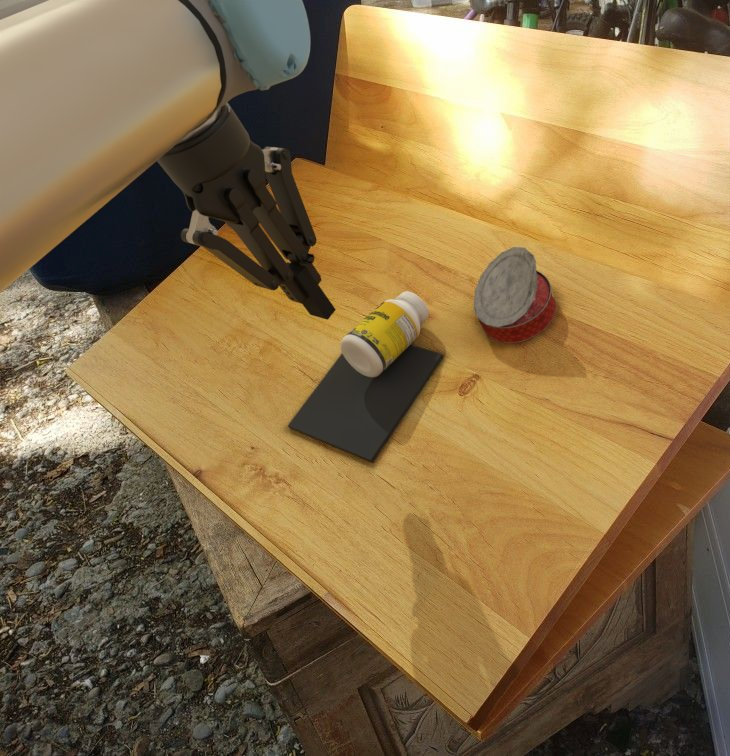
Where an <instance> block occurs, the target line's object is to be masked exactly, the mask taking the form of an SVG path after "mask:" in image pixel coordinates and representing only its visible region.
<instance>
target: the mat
mask: <svg viewBox="0 0 730 756" xmlns="http://www.w3.org/2000/svg"><path fill="white" fill-rule="evenodd" d="M443 359H444V355H443V353H440V352H437V351H434V350H430V349H426V348H423V347H419V346H416V345H413V344H410V345H409V346H408V347H407V348H406V349H405V350H404V351H403V352H402V353H401V354H400V355H399V356H398V357H397V358H396V359H395V360H394V361H393V362H392V363H391V364H390V365H389V366H388V367H387V368H386V369H385V370H384V371H383V372H382V373H381V374H380V375H378V376H377V377H367V376H364V375H362V374H361V373H359V372H358V371H357V370H356V369H354V368H353V367H352V366H351V365H350V364H349V362H348V361H347V360H346V359H345V357H344V355H343V354H342V353H340V355H339V356H338V358H337V359H336V361H335V362H334V363H333V365H332V366H331V368H329V370H328V371H327V373H326V374H325V375H324V376H323V378H322V379H321V380H320V382H319V384H317V386H316V387H315V388H314V389H313V392H312V393H311V394H310V395H309V397H307V399H306V401H304V403H303V404H302V406H301V407H300V409H299V410H298V411H297V413H296V414H295V415H294V416H293V418H292V419H291V420H290V421H289V423H288V424H287V427H288V428H289V429H290V430H292V431H296V432H298V433H299V434H302V435H305V436H308V437H310V438H312V439H315V440H317V441H319V442H322V443H324V444H326V445H329V446H331V447H333V448H336V449H338V450H341V451H343V452H344V453H345V452H346V453H348V454H351V455H353V456H354V457H358V458H360V459H362V460H364V461H367V462H369V463H374V462H375V460H376V458H377V457H378V455H379V454H380V452H382V450H383V448H384V447H385V445H386V443H387V442H388V441H389V439H390V438H391V436H392V434H393V433H394V431H395V430H396V429H397V427H398V426H399V424H400V423H401V421H402V419H403V418H404V417H405V415H406V414H407V412H408V411H409V409H410V408H411V406H412V405H413V403H414V402H415V400H416V399H417V397H418V396H419V394H420V393H421V391H422V390H423V388H424V387H425V386H426V384H427V382H428V381H429V380H430V378H431V376H432V375H433V374H434V372H435V371H436V369H437V367H438V366H439V364H440V363H441V361H442V360H443Z"/></svg>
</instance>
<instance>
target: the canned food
mask: <svg viewBox="0 0 730 756" xmlns="http://www.w3.org/2000/svg"><path fill="white" fill-rule="evenodd" d="M473 311H474V314H475V316H476V317H477V320H478V322H479V324H480V326H481V329H482V331H483V332H484V334H485V335H486V336H487V337H489V338H490V339H491V340H493V341H496V342H498V343H503V344H517V343H522V342H526V341H528V340H531V339H533V338H535V337H537V336H538V335H540V334H542V333H543V332H544V331H545V330H546V329H547V328H548V327H549V326H550V325H551V323H552V321H553V320H554V318H555V315H556V312H557V301H556V297H555V296H554V292H553V290H552V285H551V283H550V280H549V278H548V277H547V276H546V275H545V274H543V272H541V271H538V270H537V260H536V258H535V256H534V254H533V253H531V252H530V251H529V249H527V248H526V247H520V246H512V247H511V248H509V249H506V250H504V251H502V252H500V253H499V254H498V255H497V256H496V257H495V258H494V259H493V260H491V261H490V262H489V263H488V265H487V266H486V268H485V269H484V271H482V273H481V274H480V276H479V279H478V282H477V284H476V287H475V290H474V300H473Z"/></svg>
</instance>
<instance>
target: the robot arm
mask: <svg viewBox="0 0 730 756" xmlns="http://www.w3.org/2000/svg"><path fill="white" fill-rule="evenodd" d="M310 52H311V30H310V24H309V18H308V14H307V10H306V8H305V4H304V1H303V0H0V294H1V293H2V292H3V291H5V290H6V289H7V288H8V287H10V286H11V285H12V284H13V283H14V282H16V281H17V280H19V278H20V277H22V275H24V274H26V272H27V271H28V270H29V269H31V268H32V267H33V266H34V265H36V264H37V263H38V262H39V261H40V260H42V259H43V258H44V257H45V256H46V255H47V254H49V253H50V252H51V251H52V250H53V249H55V248H56V247H57V246H58V245H59V244H60V243H62V242H63V241H64V240H65V239H66V238H68V237H69V236H71V234H73V232H74V231H76V230H77V229H78V228H79V227H80V226H81V225H83V224H85V222H86V221H87V220H89V219H90V218H91V217H93V216H94V215H95V214H96V213H98V211H99V210H101V209H102V208H103V207H104V206H105V205H106V204H108V203H109V202H110V201H111V200H112V199H114V198H115V197H116V196H117V195H118V194H120V193H121V192H122V191H123V190H125V188H127V187H128V186H129V185H130V184H131V183H132V182H134V181H135V180H136V179H137V178H138V177H140V176H141V175H142V174H143V173H144V172H146V170H148V169H149V168H150V167H151V166H153V165H154V164H155V163H156V162H157V163H158V164H159V166H160V167H161V168H162V170H163V171H164V172H165V173H166V174H167V175H168V177H169V178H170V180H172V182H173V183H174V184H175V185H176V186H177V187H178V188H179V190H181V192H182V193H183V196H184V198H185V203H186V206H187V208H188V209H189V210H190V211H191V212H192V213H191V218H190V221H189V222H190V223H189V227H188V228H186V227H185V228H184V229H182V230H181V232H180V239H181V240H182V241H183V242H185V243H187V244H192V245H196V246H199V247H202V248H204V249H205V250H207V252H209V253H211V254H212V255H213V256H214V257H216V258H217V259H218V260H220V261H221V262H223V263H224V264H226V265H227V266H228V267H229V268H231V269H232V270H234V272H236V273H238V275H240V276H242V277H243V278H244V279H245V280H247V281H248V282H250V283H251V284H253V285H254V286H255V287H259V288H263V289H267V290H270V291H276V290H277V289H278V288H280V289H281V290H282V292H283V293H284V295H285V296H286V297H287V298H288V299H289V300H290V301H291V302H294V303H297V304H301V305H302V306H303V307H304V309H305V310H306V311H307V313H308V314H309V315H310V316H313V317H317V318H319V319H324V320H326V321H328V320H329V319H330V318H331V317H332V315H333V314H334V313H335V312H336V310H337V309H336V307H334V305H333V303H332V302H331V301H330V298H328V296H327V295H326V294H325V292H324V291H323V289H322V288H321V286H320V283H322V282H323V281H322V276H321V274H320V273H319V272H318V270H317V269H316V267H315V266H314V264H313V263H314V262H315V255H314V254H313V253H309V252H310V250H311V247H314V246H315V245H316V244H317V236H316V233H315V231H314V227H313V225H312V223H311V220H310V218H309V215H308V212H307V210H306V207H305V204H304V201H303V199H302V196H301V194H300V193H301V192H300V191H299V187H298V185H297V183H296V180H295V178H294V175H293V171H292V170H293V169H292V157H291V151H290V150H289V149H287V148H285V147H275V146H264V148H263V149H262V148H261V147H260V145H258V144H257V143H254V142H253V141H252V140H251V137H250V134H249V132H248V131H247V129H246V128H245V126H244V125H243V123H242V122H241V120H240V119H239V117H238V115H237V114H236V112H235V111H234V109H233V108H232V107H231V105H230V103H229V101H231V100H232V99H233V98H235V97H237V96H239V95H242V94H244V93H247V92H251V91H257V90H260V91H261V92H262V91H268V90H269V89H270V88H271V87H272V86H275V85H277V84H280V83H284V82H286V81H289V80H292V79H294V78H296V77H298V76H299V75H301V73H302V72H303V71H304V69H305V68H306V66H307V65H308V61H309V58H310ZM267 182H268V185H269V188H270V190H269V189H268V187H267ZM270 191H271V192H270ZM271 193H272V194H271ZM210 219H214V220H218V221H221V222H224V223H225V225H227V226H228V227H229V229H231V230H233V231H234V232H235V234H236V235H237V236H238V238H239V239H240V240H241V241H242V243H243V244H244V245H245V247H246V248H247V250H248V251H249V252H250V254H251V255H252V256H253V257H254V259H255V260H256V261H257V262H256V261H255V260H254V259H252V258H251V257H250V256H248V255H247V254H246V253H245V252H243V251H242V250H240V249H239V247H237V246H236V245H234V244H233V243H231V242H230V241H229V240H228V239H226V238H225V237H223V236H220V235H219V234H220V233H219V229H217V227H216V226H214V225H213V224H212V222H211V221H210ZM286 260H287V261H289V262H286Z"/></svg>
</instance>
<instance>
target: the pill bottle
mask: <svg viewBox="0 0 730 756" xmlns="http://www.w3.org/2000/svg"><path fill="white" fill-rule="evenodd" d="M429 311H430V310H429V308H428V306H427V304H426V303H425V301H424V300H423V299H422V297H420V296H419V295H417V294H416V293H414V292H412V291H408V290H406V291H403V292H401V293H400V294H399V295H398V296H397V297H396V298H395V299H394V298H393V299H392V298H389V299H386V300H384V301H382V302H381V303H380V304H378V306H377V307H375V308H374V309H373V310H372V311H371V312H370V313H369V314H368V315H367V316H365V318H364V319H362V320H361V321H360V322H359V323H358V324H357V325H356V326H354V328H352V329H351V330H349V332H348V333H347V334H345V336H344V337H342V339H341V340H340V344H339V347H340V351H341V354H343V355H344V357H345V359H346V360H347V361H348V362H349V364H350V365H351V366H352V367H353V368H354V369H356V370H357V371H358V372H359V373H361V374H362V375H364V376H367V377H377V376H378V375H380V374H381V373H382V372H383V371H384V370H385V369H386V368H387V367H388V366H389V365H390V364H391V363H392V362H393V361H394V360H395V359H396V358H397V357H398V356H399V355H400V354H401V353H402V352H403V351H404V350H405V349H406V348H407V347H408V346H409V345H412V344H413V343H414V342H415V341H416V340H417V338H418V337H419V336H420V333H421V326H422V325H423V324H425V323H426V321H428V320H429V317H430V312H429Z"/></svg>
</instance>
